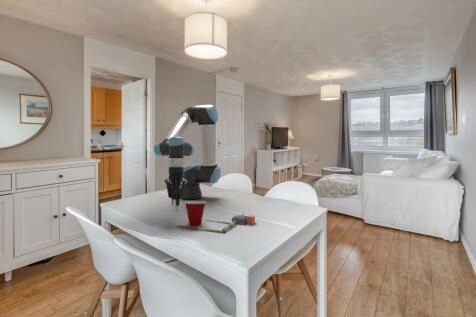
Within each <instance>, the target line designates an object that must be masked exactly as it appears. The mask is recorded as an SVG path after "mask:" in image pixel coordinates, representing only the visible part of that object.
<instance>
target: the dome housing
mask: <svg viewBox="0 0 476 317" xmlns="http://www.w3.org/2000/svg"><path fill="white" fill-rule="evenodd" d="M234 221H236V225H243V226H248V227H249V226H250V227H253V226H254V225H255V222H256V216H255V215H249V214H248V215H245V219H241V218H236V215H234V216H233V217H232V218H231V223H232V222H234Z"/></svg>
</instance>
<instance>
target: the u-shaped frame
mask: <svg viewBox="0 0 476 317" xmlns="http://www.w3.org/2000/svg"><path fill="white" fill-rule="evenodd" d="M203 221H206V222H213V223H218V224H219V223H220V224H224V225H225V224H226V225H225V226H224V227H222V229H221V230H220V229H214V228H213V229H212V228H205V227H198V226H190V225H189V226H188V225H178V224H177V225H176V226H175V227H176V228H177V229H186V230H195V231H205V232H211V233H220V234H225V233H227V232H228V231H230V229H232V228H234V227H235V226H236V225H237V224H236V221H234V222H232V221H231V222H230V221H229V222H228V221H220V220H219V221H217V220H212V219H211V220H208V219H203Z"/></svg>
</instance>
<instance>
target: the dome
mask: <svg viewBox="0 0 476 317" xmlns="http://www.w3.org/2000/svg"><path fill="white" fill-rule="evenodd" d="M235 216H236V218H241V219H245V216H246V215H245V213H243V212H237V213H236V215H235Z"/></svg>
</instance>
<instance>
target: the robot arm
mask: <svg viewBox="0 0 476 317" xmlns="http://www.w3.org/2000/svg"><path fill="white" fill-rule="evenodd" d="M218 120H219V115H218V110H217V108H216V107H215V105H213V104H202V105H191V106H188V107H186V108H184V110H183V111H182V112H180V113H179V114H178V116H177V120H176V122H175V123H174V125H173V126H172V127H171V129H170V130H169V132H168V133H167V134H166V136H165V137H164V138H163V139H162V141H161V142H156V143H155V144H154V145H153V146H154V147H153V152H154V154H155V155H156V156H159V157H168V178H166V179H164V183H165V185H166V191H167V194H168V195H167V196H168V199H171V206H172V213H178V212H179V206H180V205H181V204H180V202H181V201H180V200H181V199H184V200H185V199H186V200H187V199H188V200H189V199H190V200H193V199H194V200H195V199H200V198H202V197H203V192H202V189H201V187H200V184H216V183H218V182H219V180H220V177H221V168H220V166H218V162H216V159H215V158H216V155H215V138H214V136H215V134H214V127H215V126H216V123H217V122H218ZM192 124H198V127H199V128H200V138H201V140H200V141H201V156H202V159H201V160H202V163H201V164H191V165H184V164H185V163H184V160H185V159H184V158H185V157H190V156H192V155H193V154H195V147H194V145H193V144H192V143H191V142H185V138H184V137H182V136H183V134H184V133H185V132H186V130H187V129H188V127H190V126H191V125H192Z"/></svg>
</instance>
